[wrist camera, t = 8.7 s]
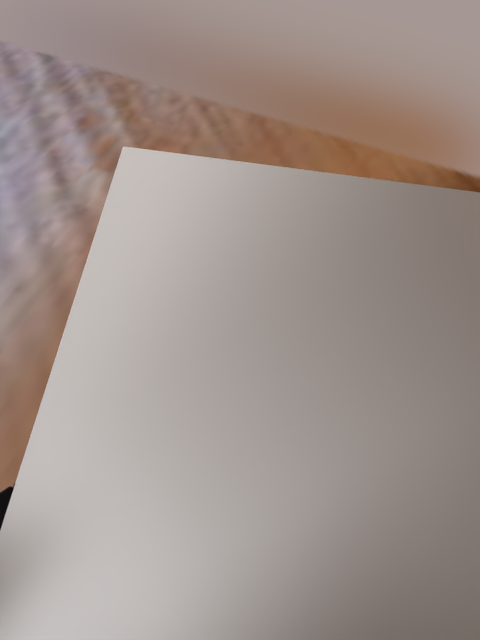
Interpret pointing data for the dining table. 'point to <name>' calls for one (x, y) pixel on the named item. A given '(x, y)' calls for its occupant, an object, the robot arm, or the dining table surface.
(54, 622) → the pillar
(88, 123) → the dining table surface
